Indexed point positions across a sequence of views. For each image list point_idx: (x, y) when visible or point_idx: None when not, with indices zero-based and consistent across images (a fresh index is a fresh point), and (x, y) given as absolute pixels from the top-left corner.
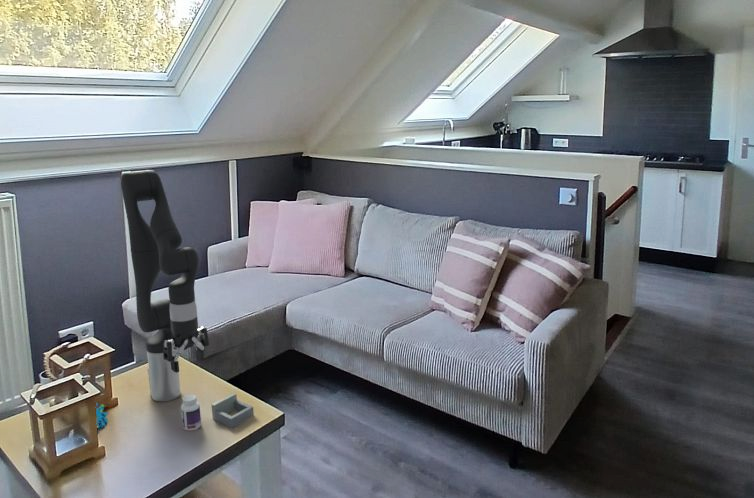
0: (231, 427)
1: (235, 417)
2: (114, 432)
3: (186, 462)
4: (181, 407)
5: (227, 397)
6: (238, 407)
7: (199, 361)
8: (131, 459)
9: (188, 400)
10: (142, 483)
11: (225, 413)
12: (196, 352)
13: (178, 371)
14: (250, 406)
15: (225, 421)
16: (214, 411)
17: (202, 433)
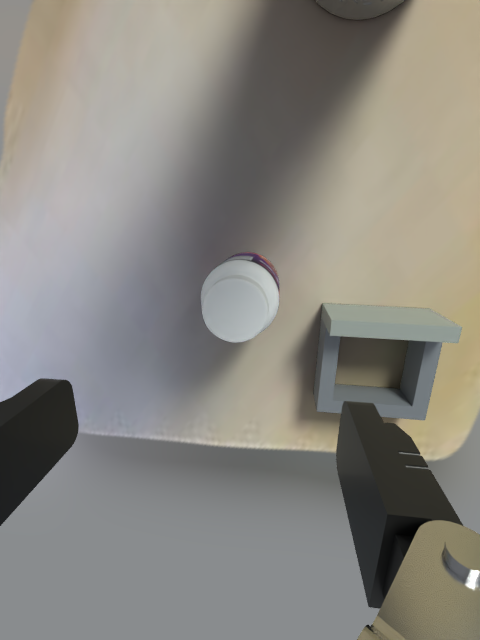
0: (313, 393)
1: (336, 411)
2: (50, 69)
3: (124, 409)
4: (204, 284)
5: (413, 333)
6: (414, 350)
7: (338, 438)
8: (29, 277)
9: (213, 329)
10: (10, 386)
11: (335, 370)
12: (368, 480)
13: (65, 442)
14: (423, 410)
15: (317, 373)
16: (325, 326)
17: (239, 342)
